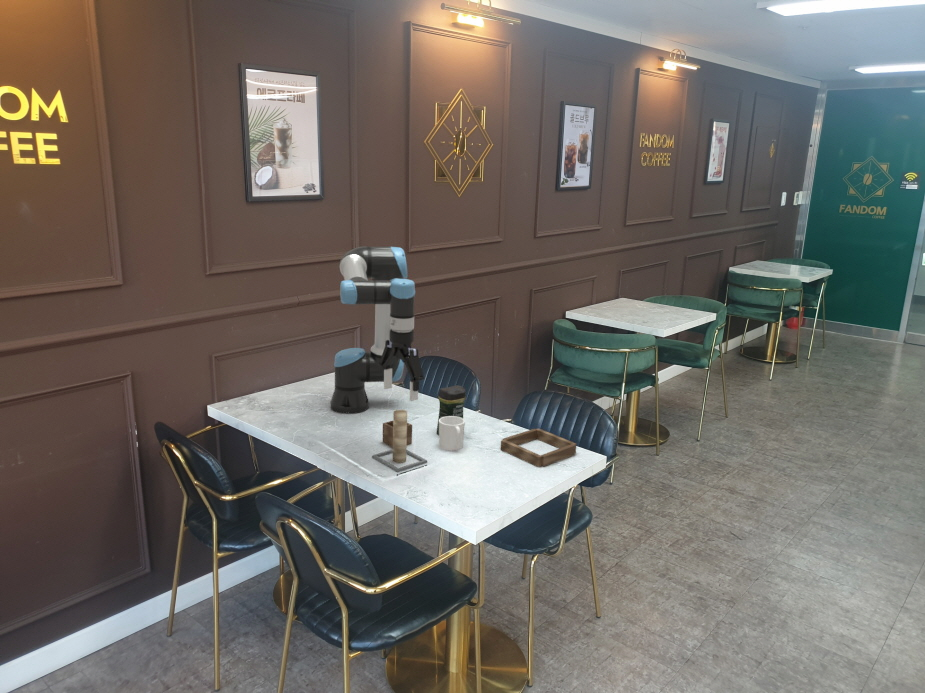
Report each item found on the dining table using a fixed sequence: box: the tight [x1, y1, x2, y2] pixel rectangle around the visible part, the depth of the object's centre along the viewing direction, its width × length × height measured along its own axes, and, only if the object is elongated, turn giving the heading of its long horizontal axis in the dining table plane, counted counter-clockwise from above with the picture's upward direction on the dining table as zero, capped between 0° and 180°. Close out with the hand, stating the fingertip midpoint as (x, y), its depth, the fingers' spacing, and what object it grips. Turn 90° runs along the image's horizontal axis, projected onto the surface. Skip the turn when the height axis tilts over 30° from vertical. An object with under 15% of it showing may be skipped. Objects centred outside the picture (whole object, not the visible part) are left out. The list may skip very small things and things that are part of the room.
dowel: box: [392, 409, 408, 464], centre depth 228 cm, size 4×4×17 cm
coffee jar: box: [436, 384, 467, 436], centre depth 253 cm, size 10×8×19 cm
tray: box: [371, 448, 428, 476], centre depth 230 cm, size 14×12×2 cm
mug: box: [438, 416, 466, 452], centre depth 241 cm, size 11×9×10 cm
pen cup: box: [382, 420, 413, 449], centre depth 243 cm, size 7×7×8 cm
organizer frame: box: [500, 427, 577, 468], centre depth 244 cm, size 19×19×4 cm
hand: (400, 394), depth 225 cm, fingers open, 13 cm apart
